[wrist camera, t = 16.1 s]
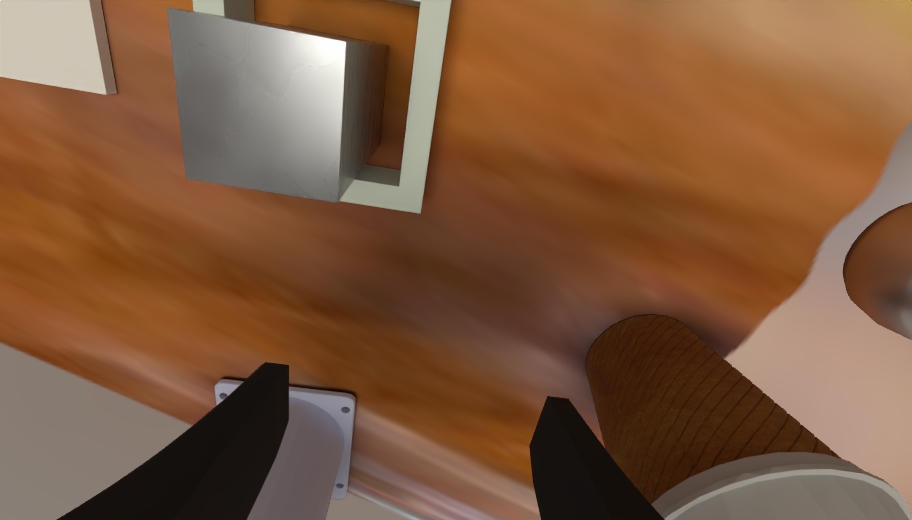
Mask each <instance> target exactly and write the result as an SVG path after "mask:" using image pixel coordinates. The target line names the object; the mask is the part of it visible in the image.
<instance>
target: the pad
mask: <svg viewBox="0 0 912 520" xmlns="http://www.w3.org/2000/svg"><path fill="white" fill-rule="evenodd" d="M0 77H5V78H11V79H17V80H23V81H29V82H35V83H40V84H46V85H52V86H58V87H64V88H70V89H76V90H81V91H87V92H93V93H99V94H105V95H109V94H116V93H117V91H116V85H115V80H114V74H113V68H112V62H111V57H110V51H109V45H108V39H107V33H106V28H105V22H104V16H103V10H102V5H101V0H0Z"/></svg>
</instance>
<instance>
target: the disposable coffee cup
mask: <svg viewBox="0 0 912 520" xmlns="http://www.w3.org/2000/svg"><path fill="white" fill-rule="evenodd" d="M691 332H692V331H690V330H689V329H688V328H687V327H686V326H685V325H684V324H683V323H681V322H679V321H677V320H676V319H673V318H670V317H667V316H660V315H643V316H637V317H632V318H630V319H627V320H624V321H621V322H619V323H617V324H615V325H613V326H612V327H611V328H609V329H608V330H607V331H605V332H604V333H603V334H602V335H601V336H600V337H599V338H598V339H597V340H596V341H595V343H594V344H593V346H592V347H591V349H590V351H589V354H588V357H587V360H586V372H587V376H588V380H589V384H590V388H591V392H592V396H593V400H594V404H595V409H596V412H597V417H598V421H599V425H600V430H601V433H602V437H603V442H604V445H605V449H606V451H607V452H608V453H609V454H610V456H611V457H612V458H613V460H614V461H615V462H616V463H617V465H618V466H619V467H620V468H621V470H622V471H623V472H624V473H625V475H626V476H627V477H628V478H629V480H630V481H631V482H632V483H633V484H634V485H635V487H636V488H637V489H638V490H639V491H640V492H641V494H642V495H643V496H644V497H645V498H646V499H647V501H648V502H649V503H650V504H651V505H652V506H653V507H654V508H655V509H656V511H657V512H658V513H659V514H660V515H661V516H662V517H663V518H664V519H665V520H911V512H910V510H909V507H908V504H907V502H906V501H905V500H904V498H903V497H902V496H901V494H900V493H899V492H898V491H897V490H896V489H894V488H893V487H892V486H890V485H889V484H888V483H887V482H886V481H884V480H883V479H881V478H879V477H877V476H874V475H872V474H870V473H868V472H865V471H863V470H862V469H860V468H858V467H857V466H856V465H854V464H852V463H851V462H850V461H846V460H843V459H841V458H840V457H839V456H838V455H837V454H836V453H834V452H833V451H832V450H830V448H829V447H828V446H826V445H825V444H824V443H823V442H822V441H820V440H819V439H818V438H817V437H814V434H812V433H811V432H810V431H808V430H807V429H806V428H805V427H804V426H802V425H800V423H799V422H798V421H797V420H796V419H794V418H793V417H792V416H791V415H790V414H787V412H786V411H785V410H784V409H783V408H781V407H780V406H779V405H778V404H776V403H774V401H773V400H772V399H771V398H770V397H768V396H767V395H766V394H765V393H763V392H762V391H761V390H760V389H759V388H758V387H756V386H755V385H754V384H752V382H751V381H750V380H748V379H747V378H746V377H745V376H742V374H741V373H740V372H739V371H738V370H736V369H735V368H734V367H732V365H731V364H730V363H728V362H727V361H726V360H723V358H722V357H721V356H720V355H719V354H717V353H716V352H715V351H714V350H713V349H712V348H710V347H709V346H708V345H707V344H706V343H705V342H703V341H702V340H701V339H699V337H698V336H696V335H695V334H694V333H691ZM706 345H707V346H706Z"/></svg>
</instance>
